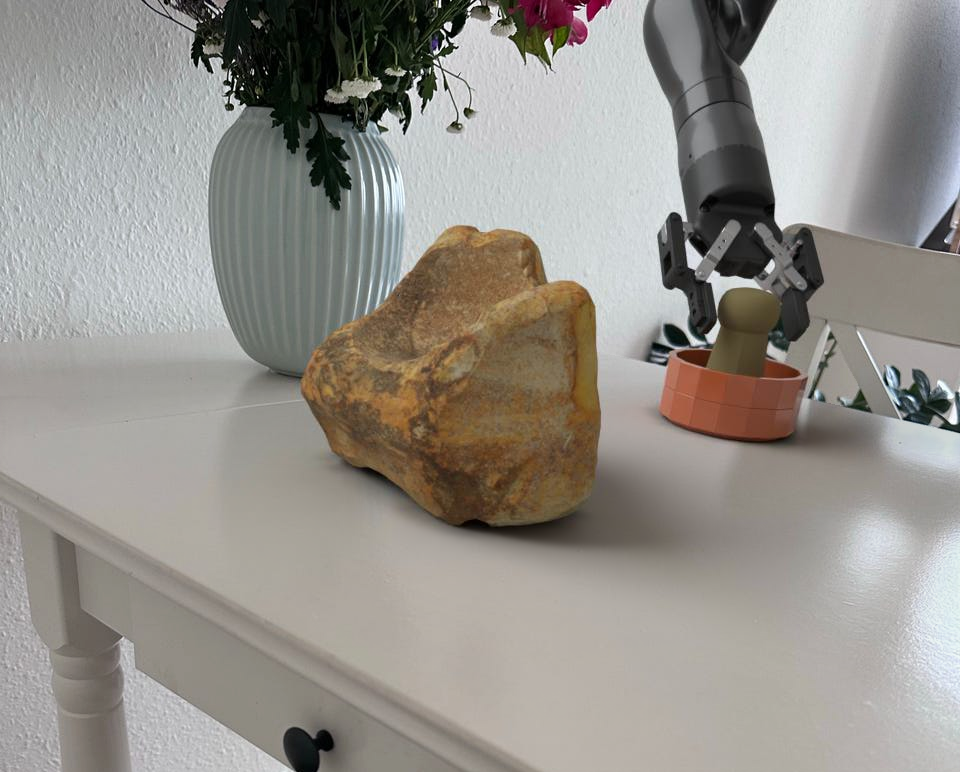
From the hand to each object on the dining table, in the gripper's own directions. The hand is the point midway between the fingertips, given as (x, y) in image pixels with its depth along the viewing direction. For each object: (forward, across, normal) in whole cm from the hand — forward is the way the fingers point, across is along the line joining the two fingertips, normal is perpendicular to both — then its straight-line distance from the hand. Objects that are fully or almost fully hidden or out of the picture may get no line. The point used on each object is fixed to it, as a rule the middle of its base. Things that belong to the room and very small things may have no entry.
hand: (753, 332), depth 81 cm
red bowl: (+5, 0, +7) cm, 8 cm away
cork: (+5, 0, +7) cm, 8 cm away
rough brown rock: (+18, -30, -6) cm, 35 cm away
